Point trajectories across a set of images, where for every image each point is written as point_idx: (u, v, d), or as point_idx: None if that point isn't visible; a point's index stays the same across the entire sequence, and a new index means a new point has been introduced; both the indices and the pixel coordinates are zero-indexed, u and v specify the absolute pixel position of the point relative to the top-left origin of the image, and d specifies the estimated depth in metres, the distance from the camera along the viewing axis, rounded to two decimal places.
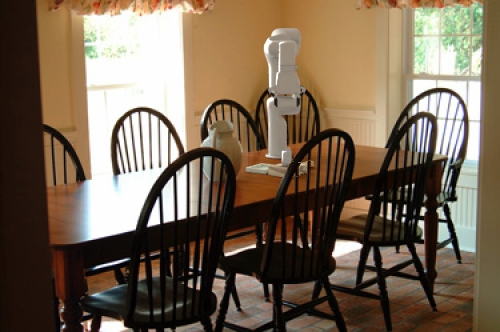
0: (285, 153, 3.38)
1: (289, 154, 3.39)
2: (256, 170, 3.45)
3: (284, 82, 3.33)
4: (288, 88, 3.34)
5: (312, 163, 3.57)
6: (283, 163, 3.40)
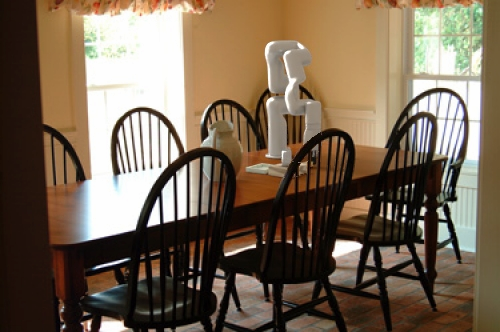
0: (285, 153, 3.38)
1: (289, 154, 3.39)
2: (256, 170, 3.45)
3: None
4: (317, 144, 3.57)
5: (311, 163, 3.56)
6: (283, 163, 3.40)
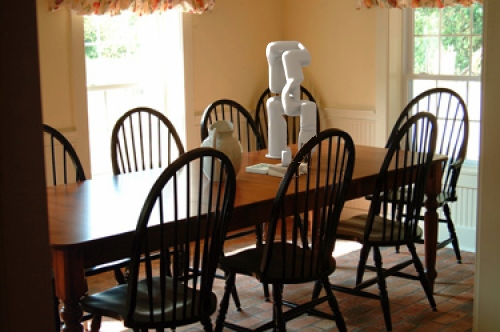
0: (285, 153, 3.38)
1: (289, 154, 3.39)
2: (256, 170, 3.45)
3: None
4: None
5: None
6: (283, 163, 3.40)
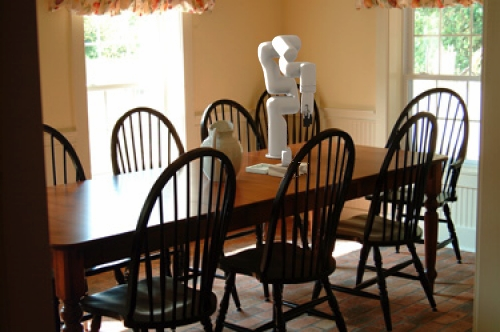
0: (285, 153, 3.38)
1: (289, 154, 3.39)
2: (256, 170, 3.45)
3: (312, 102, 3.48)
4: (312, 107, 3.50)
5: None
6: (283, 163, 3.40)
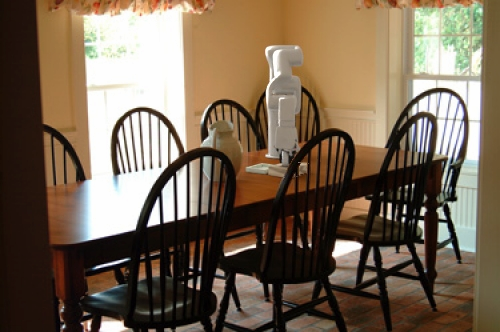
0: (285, 153, 3.38)
1: (289, 154, 3.39)
2: (256, 170, 3.45)
3: None
4: None
5: None
6: (283, 163, 3.40)
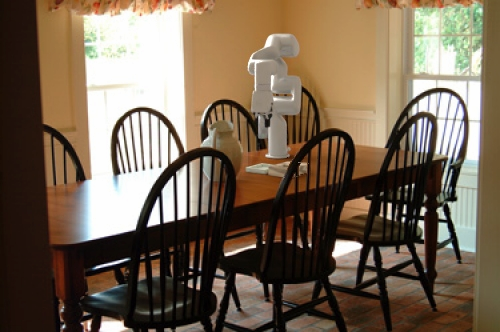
0: (261, 116, 3.44)
1: (265, 117, 3.45)
2: (256, 170, 3.45)
3: None
4: None
5: None
6: (259, 126, 3.46)
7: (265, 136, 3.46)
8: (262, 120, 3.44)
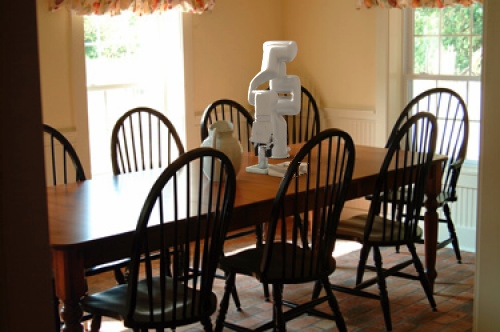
0: (261, 148, 3.47)
1: (265, 149, 3.47)
2: (256, 170, 3.45)
3: None
4: None
5: None
6: (259, 158, 3.49)
7: (265, 168, 3.49)
8: (262, 152, 3.47)
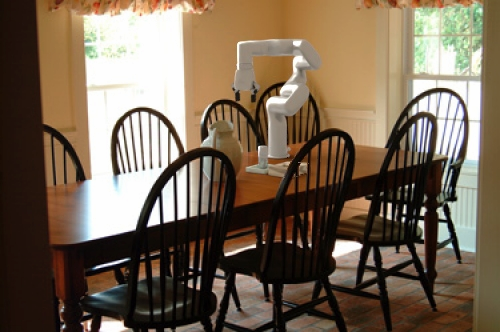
0: (261, 148, 3.47)
1: (265, 149, 3.47)
2: (256, 170, 3.45)
3: None
4: None
5: None
6: (259, 158, 3.49)
7: (265, 168, 3.49)
8: (262, 152, 3.47)
